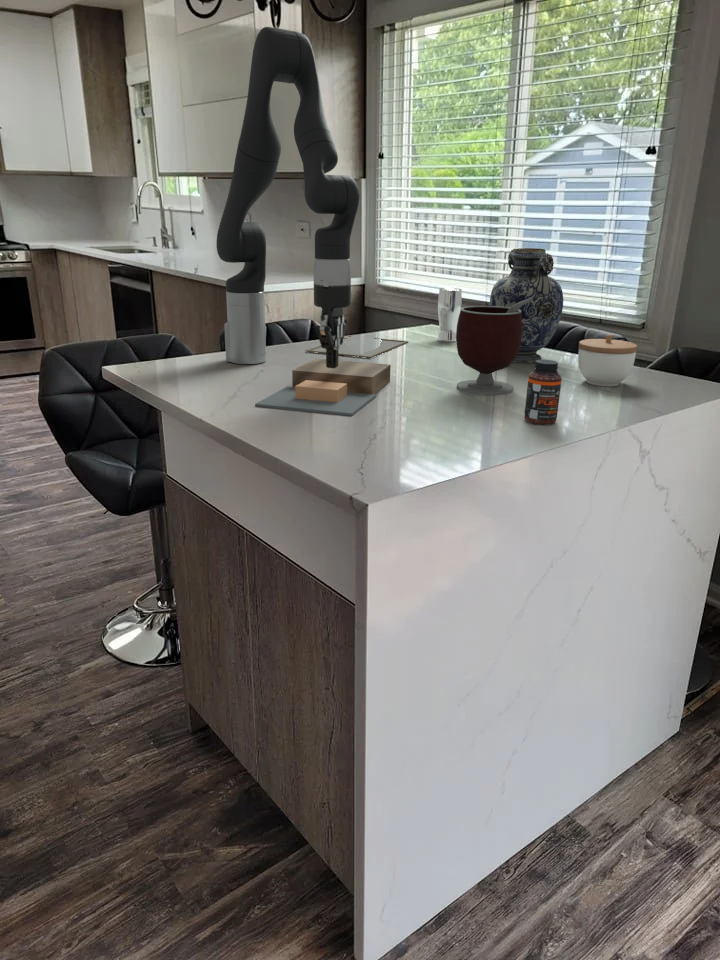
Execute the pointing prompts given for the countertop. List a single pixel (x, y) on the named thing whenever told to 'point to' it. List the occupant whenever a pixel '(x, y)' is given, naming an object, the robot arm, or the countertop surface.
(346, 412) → the slate mat
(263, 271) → the robot arm
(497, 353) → the mate gourd
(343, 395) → the tan rectangular block
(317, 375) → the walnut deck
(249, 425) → the countertop surface
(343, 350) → the picture frame
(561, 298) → the decorative vase
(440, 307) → the beer glass
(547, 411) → the supplement bottle
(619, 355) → the lidded bowl
